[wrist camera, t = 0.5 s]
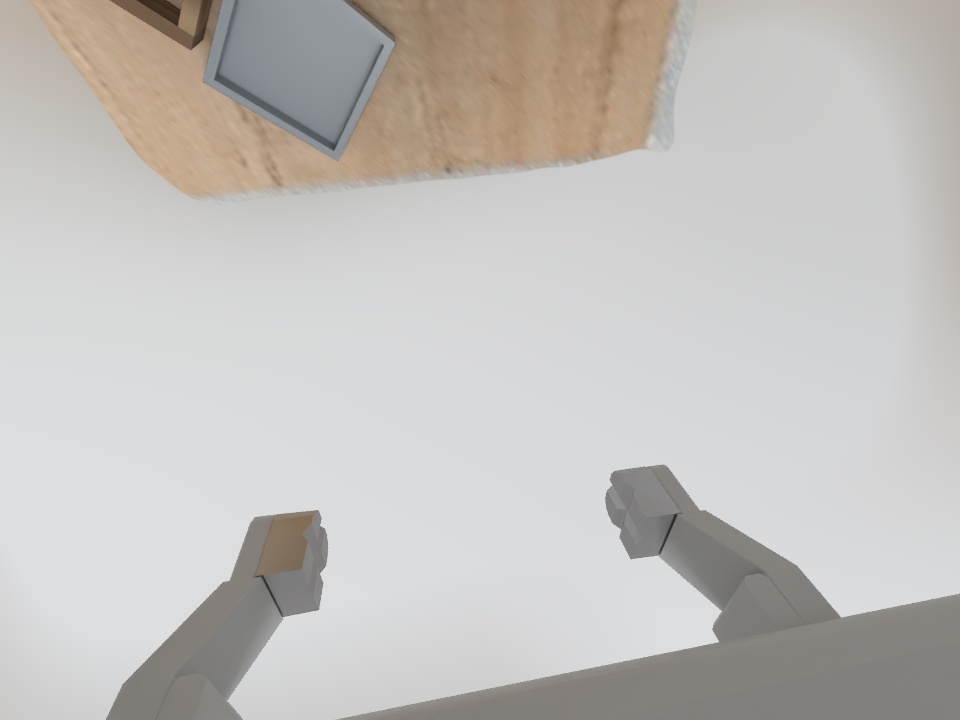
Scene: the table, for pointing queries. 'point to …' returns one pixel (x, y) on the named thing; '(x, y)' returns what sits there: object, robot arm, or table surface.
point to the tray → (299, 64)
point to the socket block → (172, 18)
